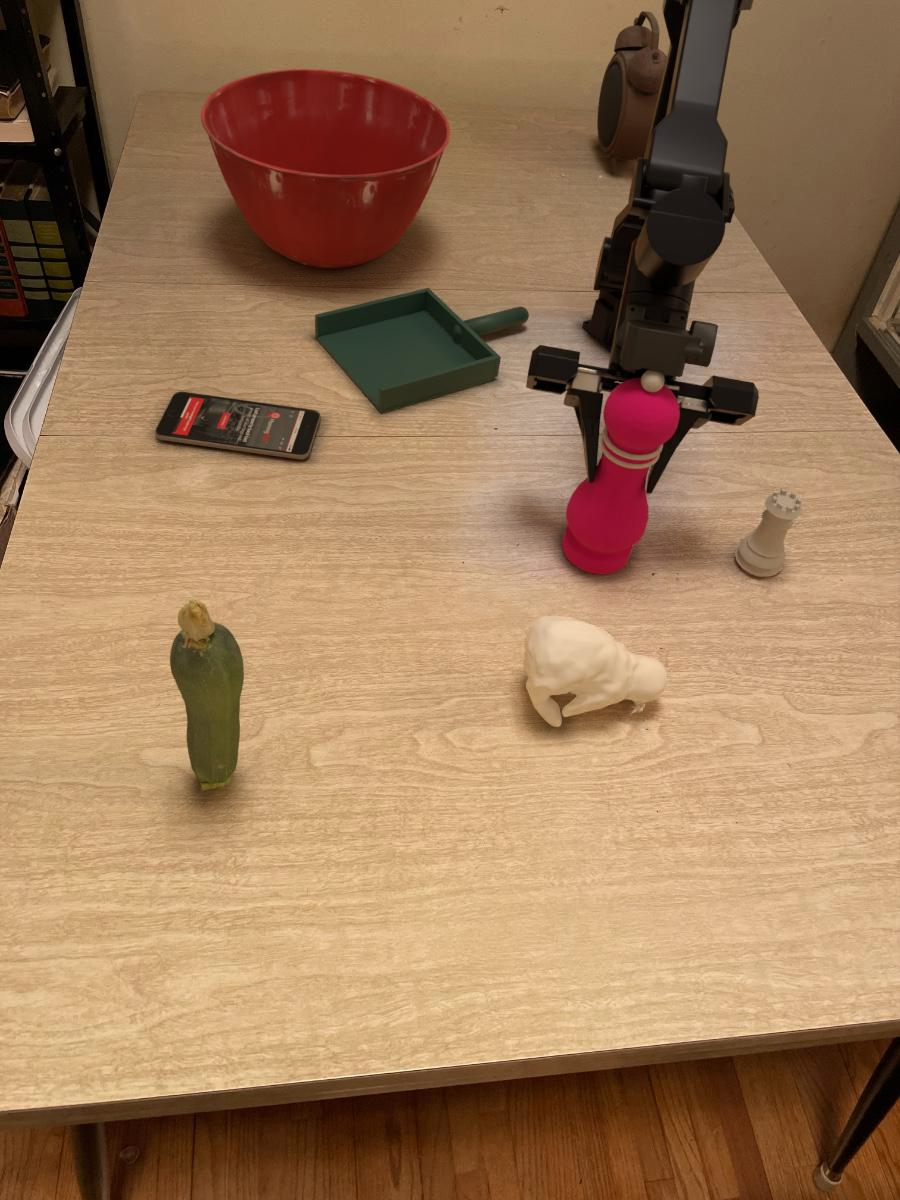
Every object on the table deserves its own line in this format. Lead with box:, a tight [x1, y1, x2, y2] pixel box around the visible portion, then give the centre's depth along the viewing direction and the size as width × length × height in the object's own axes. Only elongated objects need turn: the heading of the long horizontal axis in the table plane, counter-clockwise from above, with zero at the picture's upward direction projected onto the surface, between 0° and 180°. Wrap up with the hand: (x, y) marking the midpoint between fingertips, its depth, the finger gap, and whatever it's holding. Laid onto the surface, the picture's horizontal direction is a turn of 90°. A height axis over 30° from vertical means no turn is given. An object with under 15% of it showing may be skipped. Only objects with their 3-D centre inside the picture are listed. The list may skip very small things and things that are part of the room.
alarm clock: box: [596, 10, 667, 175], centre depth 139 cm, size 14×7×20 cm, turn 6°
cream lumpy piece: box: [522, 615, 668, 728], centre depth 74 cm, size 6×8×12 cm
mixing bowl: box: [200, 68, 451, 270], centre depth 116 cm, size 28×28×15 cm
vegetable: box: [169, 598, 245, 791], centre depth 62 cm, size 4×4×20 cm
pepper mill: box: [561, 370, 680, 575], centre depth 81 cm, size 7×7×20 cm
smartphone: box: [154, 391, 322, 461], centre depth 95 cm, size 7×1×15 cm
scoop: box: [314, 287, 530, 414], centre depth 107 cm, size 24×15×3 cm, turn 122°
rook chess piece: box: [734, 488, 803, 578], centre depth 87 cm, size 4×4×8 cm
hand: (619, 487), depth 81 cm, fingers closed on pepper mill, 5 cm apart
